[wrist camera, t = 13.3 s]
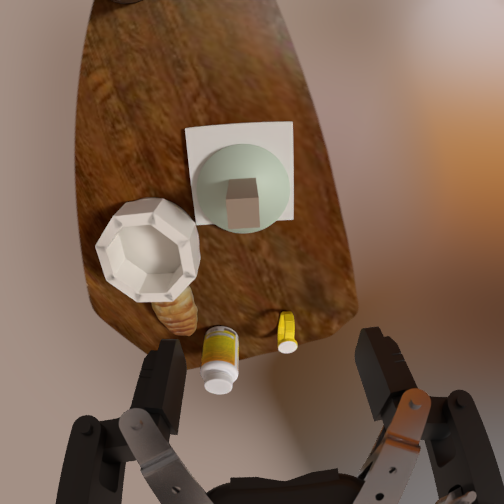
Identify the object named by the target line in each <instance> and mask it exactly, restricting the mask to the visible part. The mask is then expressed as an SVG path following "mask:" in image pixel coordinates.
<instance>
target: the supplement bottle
mask: <svg viewBox="0 0 504 504" xmlns="http://www.w3.org/2000/svg"><path fill="white" fill-rule="evenodd" d="M238 360H239V339H238V335H237V333H236V332H235V331H234V330H232V329H231V328H228V327H225V326H216V327H213V328H211V329H209V330H208V331H207V332H206V334H205V337H204V344H203V351H202V360H201V367H200V374H201V377H202V378H203V379H204V387H205V389H206V390H207V391H208V392H210V393H213V394H226V393H228V392H230V391H231V390H232V384H233V382H234V381H235V380H236V379H237V377H238Z"/></svg>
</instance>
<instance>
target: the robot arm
mask: <svg viewBox="0 0 504 504" xmlns="http://www.w3.org/2000/svg"><path fill="white" fill-rule="evenodd" d="M112 1H114V2H117V3H122V4H123V3H134V2H138V1H141V0H112ZM355 362H356V366H357V369H358V372H359V375H360V378H361V381H362V384H363V387H364V390H365V393H366V396H367V399H368V402H369V405H370V409H371V412H372V415H373V419H374V421H377V420H383V423H384V425H383V427H382V429H381V431H380V433H379V435H378V438H377V440H376V442H375V444H374V446H373V448H372V450H371V452H370V454H369V456H368V458H367V460H366V461H365V463H364V464H363V466H362V468H361V469H360V471H359V472H358V474H357V476H356V477H354V476H351V475H348V474H342V473H338V469H337V468H336V469H331V470H325V471H318V472H312V473H309V474H306V475H304V476H300V477H297V478H295V479H292V480H288V481H277V480H271V479H265V478H259V477H244V478H230V480H231V481H230V483H226V484H223V485H220V486H218V487H215V488H213V489H212V490H210V491H208V492H207V493H206V492H205V491H204V489H203V488H202V487H201V486H200V485H199V483H198V482H197V481H196V480H195V478H194V477H193V476H192V474H191V473H190V472H189V471H188V469H187V468H186V467H185V465H184V464H183V463H182V461H181V460H180V458H179V457H178V456H177V454H176V453H175V451H174V450H173V448H172V447H171V446H170V444H169V438H170V434H173V435H177V434H178V427H179V419H180V413H181V405H182V399H183V392H184V386H185V379H186V372H187V367H186V360H185V357H184V354H183V351H182V347H181V344H180V341H179V340H178V339H162V340H161V341H160V345H159V349H158V351H154V350H151V351H150V352H149V354H148V355H147V356H146V357H145V358H144V361H143V364H142V368H141V372H140V375H139V379H138V382H137V386H136V389H135V393H134V397H133V400H132V405H131V407H130V409H129V410H127V411H126V412H124V413H123V414H122V416H121V417H120V418H117V419H112V420H105V421H98V420H97V419H96V418H95V417H93V416H90V415H85V416H81V417H79V418H78V419H77V420H76V421H75V422H74V424H73V426H72V430H71V434H70V438H69V441H68V445H67V450H66V454H65V458H64V463H63V467H62V472H61V477H60V482H59V487H58V493H57V499H56V504H121V501H122V491H123V481H124V472H125V465H126V462H128V461H135V460H137V461H138V463H139V465H140V467H141V472H142V475H143V476H144V478H145V479H146V481H147V483H148V484H149V486H150V488H151V489H152V491H153V492H154V494H155V495H156V497H157V498H158V500H159V501H160V503H161V504H398V502H399V500H400V498H401V496H402V494H403V492H404V490H405V487H406V485H407V483H408V481H409V478H410V476H411V474H412V471H413V469H414V466H415V464H416V461H417V458H418V456H419V453H420V449H421V447H420V446H419V442H420V440H425V444H426V447H427V450H428V455H429V458H430V462H431V466H432V470H433V474H434V478H435V483H436V487H437V492H438V496H439V500H438V501H437V502H436V503H435V504H504V485H503V482H502V478H501V475H500V472H499V468H498V465H497V462H496V459H495V456H494V452H493V450H492V447H491V444H490V441H489V438H488V435H487V433H486V430H485V427H484V425H483V422H482V420H481V417H480V415H479V413H478V410H477V408H476V405H475V403H474V401H473V399H472V397H471V395H470V394H469V393H467V392H466V391H463V390H456V391H453V392H452V393H451V394H450V395H449V396H448V397H431V396H429V395H428V394H427V393H426V392H425V391H423V390H421V389H418V387H417V386H416V383H415V381H414V379H413V377H412V374H411V372H410V370H409V368H408V366H407V364H406V362H405V361H404V357H403V355H402V354H401V351H400V349H399V347H398V345H397V343H396V342H395V341H394V340H393V339H391V338H390V337H389V336H387V337H383V334H382V332H381V330H380V328H379V327H370V328H363V329H362V330H361V332H360V335H359V339H358V343H357V346H356V350H355Z"/></svg>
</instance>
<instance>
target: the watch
mask: <svg viewBox="0 0 504 504" xmlns="http://www.w3.org/2000/svg"><path fill="white" fill-rule="evenodd" d="M294 331H295V325H294V316H293V314H292V312H284V311H283V312H282V313H281V315H280V320H279V324H278V335H277V336H278V350H279V351H280V352H282V353H291V352H293V351H295V350H296V349H297V341H296V340H295V339H294V333H295V332H294Z"/></svg>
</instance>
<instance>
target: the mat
mask: <svg viewBox="0 0 504 504" xmlns="http://www.w3.org/2000/svg"><path fill="white" fill-rule="evenodd" d="M185 134H186V144H187V153H188V162H189V171H190V180H191V188H192V196H193V204H194V211H195V219H196V225H205V224H214V223H213V222H211V221H210V220H209V219H208V218H207V216H206V215H205V214H204V212H203V211H202V209H201V207H200V205H199V202H198V198H197V190H196V188H197V180H198V176H199V174H200V171H201V169H202V167H203V166H204V164H205V163H206V161H207V160H208V159H209V158H210V157H211V156H212V155H213V154H215V153H216V152H217V151H219V150H221V149H222V148H225V147H227V146H231V145H235V144H252V145H256V146H260V147H262V148H264V149H266V150H268V151H270V152H271V153H272V154H274V155H275V156H276V157H277V158H278V159H279V160H280V162H281V163H282V164H283V166H284V168H285V170H286V172H287V174H288V177H289V182H290V196H289V201H288V204H287V206H286V208H285V210H284V212H283V213H282V215H281V216H280V217H279V218H278V219H277V220H293V212H294V168H293V122H292V121H284V122H252V123H235V124H221V125H210V126H200V127H190V128H185Z"/></svg>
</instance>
